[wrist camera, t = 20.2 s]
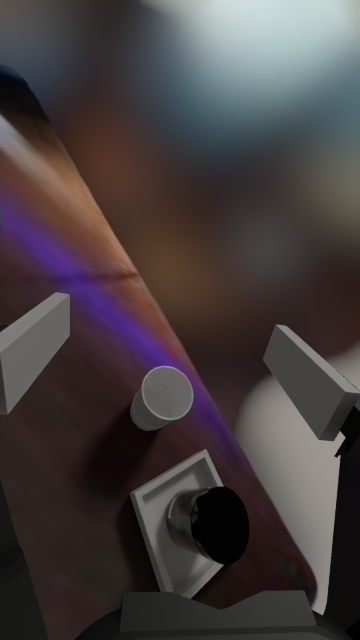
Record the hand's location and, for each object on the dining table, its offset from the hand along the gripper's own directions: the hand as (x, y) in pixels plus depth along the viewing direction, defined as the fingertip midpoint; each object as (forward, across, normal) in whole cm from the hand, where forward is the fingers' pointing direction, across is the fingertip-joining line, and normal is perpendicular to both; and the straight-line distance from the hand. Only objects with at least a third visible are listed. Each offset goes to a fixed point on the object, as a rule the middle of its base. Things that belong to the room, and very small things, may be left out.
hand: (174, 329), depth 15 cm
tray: (+7, +8, -33) cm, 35 cm away
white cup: (+19, +1, -25) cm, 31 cm away
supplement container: (+7, +8, -32) cm, 34 cm away
